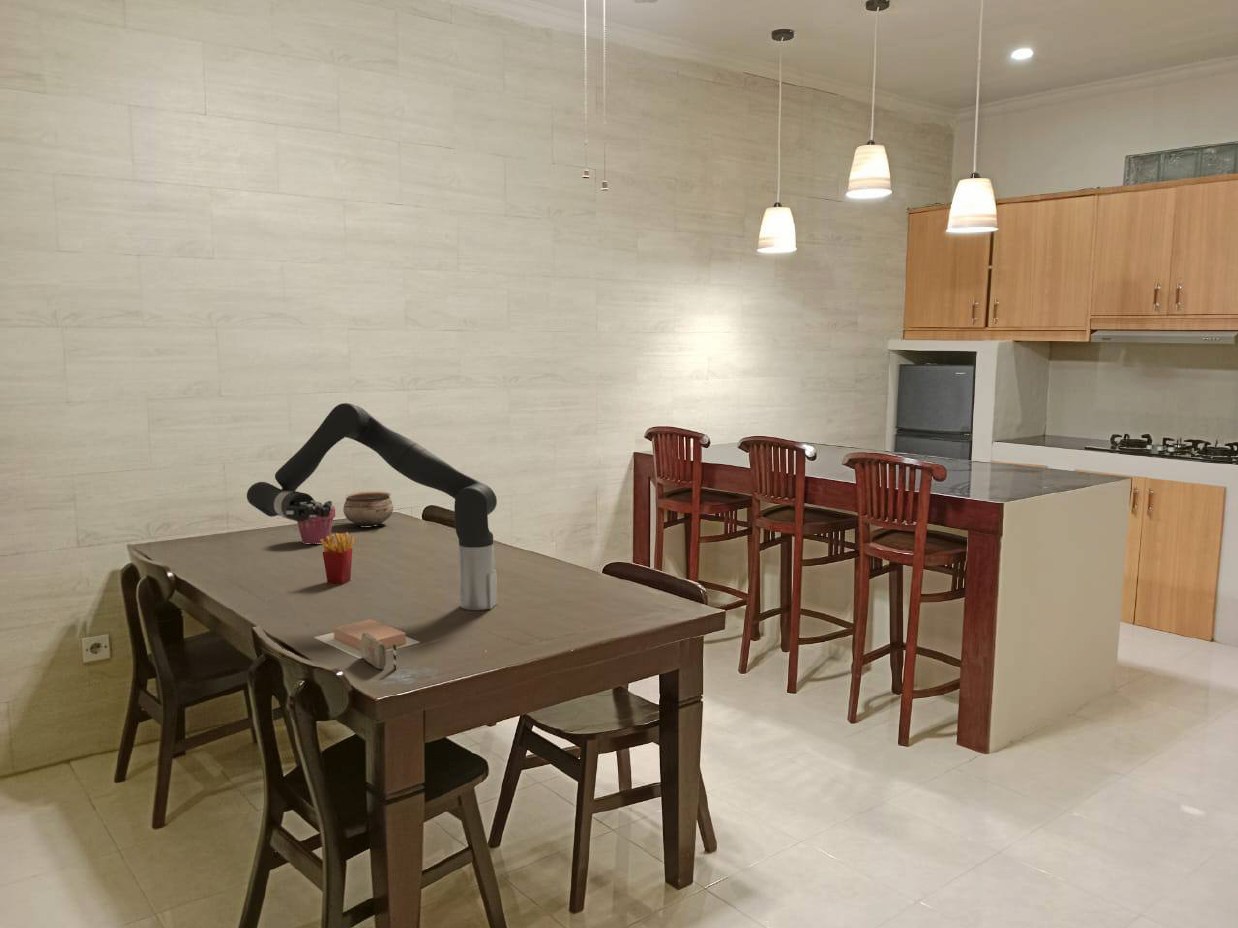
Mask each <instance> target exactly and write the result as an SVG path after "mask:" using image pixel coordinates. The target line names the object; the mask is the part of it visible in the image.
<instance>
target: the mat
mask: <svg viewBox="0 0 1238 928" xmlns="http://www.w3.org/2000/svg"><path fill="white" fill-rule="evenodd" d="M313 638H314V639H316V640H318V641H320V642H322V643H325V644H327V645H328V646H329V645H330V646H331V647H333V648H336V649H338V650H340V651H342V652H345V653H346V654H349V655H351V656H353V657H356V658H358V659H364V658H363V657H362V655H361V652H360V649H358V648H355V647H353V646H351V645H349V644H346V643H344V642H342V641H340V640H337V639H335V638H334V632H331V633H327V634H322V635H318V636H313ZM419 643H421V642H420V641H418V640H416V639H413V638H410V637H408V636H406V643H405V644H401V645H397V646H396V650H398V649H401V648H405V647H409V646H412V645H416V644H419ZM385 650H386V652H390V651H391V652H392V651H393V647H390V648H386V649H385Z"/></svg>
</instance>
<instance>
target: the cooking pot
mask: <svg viewBox="0 0 1238 928" xmlns="http://www.w3.org/2000/svg"><path fill="white" fill-rule="evenodd" d="M391 495H392V494H391V493H390V492H387V491H361V492H359V491H358V492H352V493H349V494H345V495H344V498H345V501H344V505H343V514H344V516H345V518H346V519H347V521H349V522H351V523H353V524H355V525H357V526H359V527H360V526H374V525H378V526H379V525H381V524H382V523H384V522H385V521H387V520H388V519H389V518H390V517H391V516H392V514H393V511H394V504H393V502H392V499H391Z"/></svg>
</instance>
